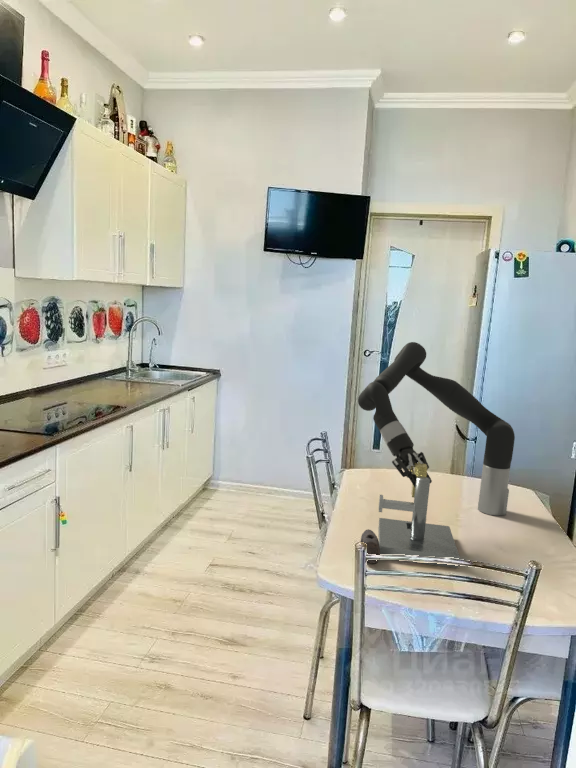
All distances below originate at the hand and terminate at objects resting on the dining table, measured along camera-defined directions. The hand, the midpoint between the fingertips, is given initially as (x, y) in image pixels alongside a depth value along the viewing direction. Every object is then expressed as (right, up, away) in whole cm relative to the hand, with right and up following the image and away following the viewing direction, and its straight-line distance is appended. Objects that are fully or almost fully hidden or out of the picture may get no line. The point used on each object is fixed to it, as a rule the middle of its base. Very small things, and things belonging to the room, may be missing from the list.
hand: (423, 484), depth 169 cm
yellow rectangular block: (-1, -4, +2) cm, 5 cm away
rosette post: (-3, -18, -3) cm, 19 cm away
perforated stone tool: (-19, -18, -11) cm, 28 cm away
